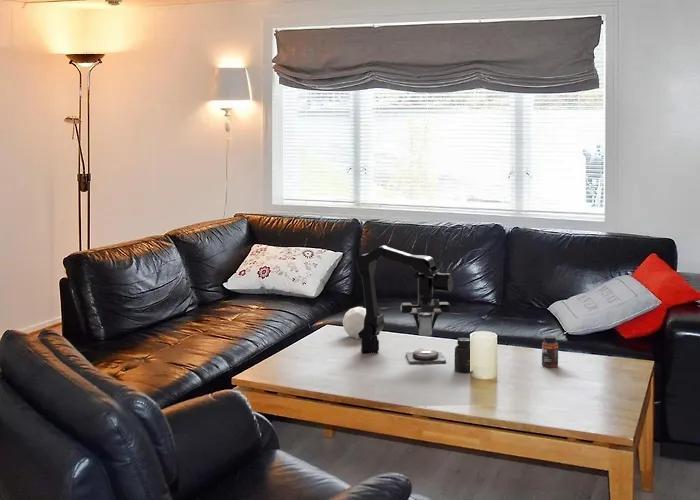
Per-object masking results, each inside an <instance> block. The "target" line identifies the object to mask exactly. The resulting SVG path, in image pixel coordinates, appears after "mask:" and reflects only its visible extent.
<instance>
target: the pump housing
mask: <svg viewBox="0 0 700 500" xmlns="http://www.w3.org/2000/svg"><path fill="white" fill-rule="evenodd" d="M418 321H419V329H418V336H420V337H421V336H422V337H429V336H432V335H433V329H432V313H430V312H426V313H423V312H419V313H418Z"/></svg>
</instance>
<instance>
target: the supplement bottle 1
mask: <svg viewBox="0 0 700 500" xmlns="http://www.w3.org/2000/svg"><path fill="white" fill-rule="evenodd" d="M470 339H471V338H468V337H459V338H457V342H456V343H457V345H456V346H455V347H454V367H453V368H454V369H453V370H454V371H455V372H457V373H459V374H460V373H461V374H467V373H471V372H470V346H471V345H470Z"/></svg>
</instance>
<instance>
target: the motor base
mask: <svg viewBox="0 0 700 500" xmlns="http://www.w3.org/2000/svg"><path fill="white" fill-rule="evenodd" d="M405 357H406V359H407V361H408V362H407V363H408V364H409V365H418V364H419V365H421V364H422V365H423V364H425V365H426V364H447V360H446V358H445V355H444V354H443V352H442V351H437V350H435V349H434V348H427V347H426V348H417V349H415V350H414V351H413V352H411V351H410V352H409V351H408V352H405Z"/></svg>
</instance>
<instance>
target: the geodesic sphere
mask: <svg viewBox="0 0 700 500" xmlns="http://www.w3.org/2000/svg"><path fill="white" fill-rule="evenodd" d="M365 315H366V307H365V308H364V307H363V305H360V306H356V307H353V308H349V310H348V311H346V312H345V314H344V317H343V320H342V325H343V329H344V331H345V333H346V334H347V335H348V337H351V338H353V339H354V338H355V339H356V340H357V339H358V340H359V339H360V338H359V335H358V333H359V332H360V331H361V330H362V329H363V328H364V319H365Z"/></svg>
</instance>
